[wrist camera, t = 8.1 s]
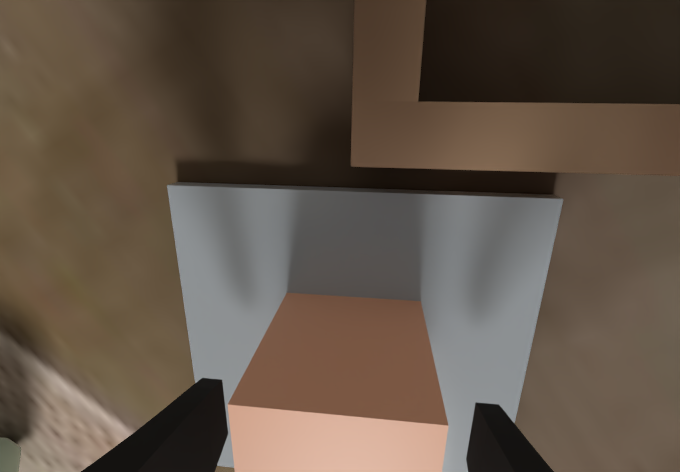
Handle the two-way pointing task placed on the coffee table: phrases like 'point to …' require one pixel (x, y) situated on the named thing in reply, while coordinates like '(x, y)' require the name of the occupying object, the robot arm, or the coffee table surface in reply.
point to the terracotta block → (340, 390)
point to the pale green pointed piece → (9, 455)
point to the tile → (369, 277)
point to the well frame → (487, 116)
